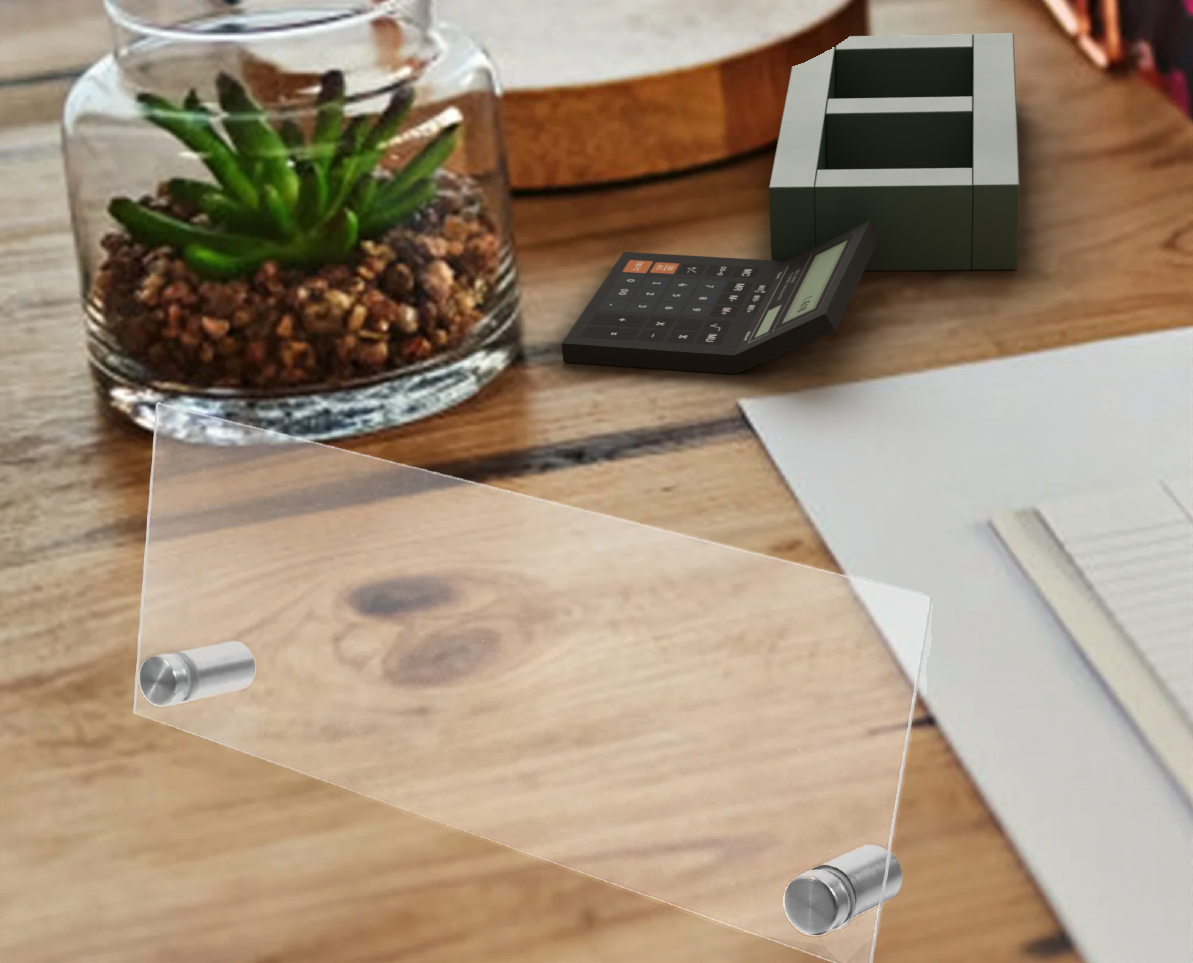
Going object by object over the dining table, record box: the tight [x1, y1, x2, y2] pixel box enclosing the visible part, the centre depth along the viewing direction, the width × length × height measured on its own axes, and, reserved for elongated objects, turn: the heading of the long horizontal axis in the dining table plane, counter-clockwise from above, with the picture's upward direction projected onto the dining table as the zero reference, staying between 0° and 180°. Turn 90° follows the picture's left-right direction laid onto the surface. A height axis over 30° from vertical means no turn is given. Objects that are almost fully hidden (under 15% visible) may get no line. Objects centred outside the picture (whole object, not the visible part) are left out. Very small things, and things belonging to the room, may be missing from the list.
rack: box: [768, 32, 1021, 272], centre depth 110 cm, size 11×20×4 cm, turn 172°
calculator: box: [561, 221, 880, 375], centre depth 99 cm, size 9×12×3 cm
